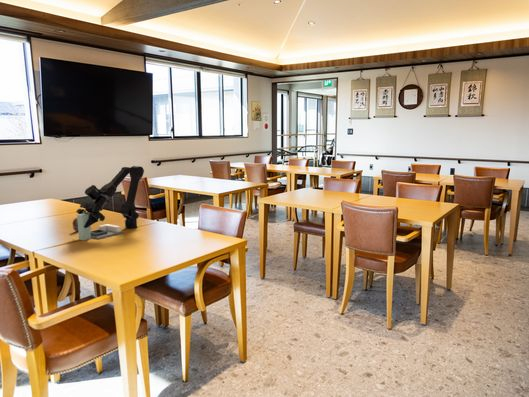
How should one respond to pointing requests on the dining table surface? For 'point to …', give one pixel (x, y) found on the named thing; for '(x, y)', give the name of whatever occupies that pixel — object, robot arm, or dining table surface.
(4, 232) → the dining table surface
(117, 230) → the baseplate
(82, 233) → the post
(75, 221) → the tin
